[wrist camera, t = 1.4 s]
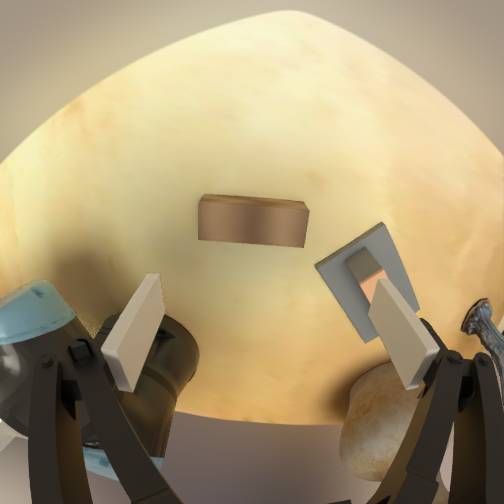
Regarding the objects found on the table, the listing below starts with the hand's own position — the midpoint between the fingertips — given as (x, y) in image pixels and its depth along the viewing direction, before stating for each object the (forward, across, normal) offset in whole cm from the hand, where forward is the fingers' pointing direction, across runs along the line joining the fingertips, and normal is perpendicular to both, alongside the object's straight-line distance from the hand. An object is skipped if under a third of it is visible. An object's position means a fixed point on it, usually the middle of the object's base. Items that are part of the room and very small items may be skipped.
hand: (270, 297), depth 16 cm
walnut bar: (+17, -1, 0) cm, 17 cm away
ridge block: (+17, +16, -9) cm, 25 cm away
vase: (+17, +25, -32) cm, 44 cm away
